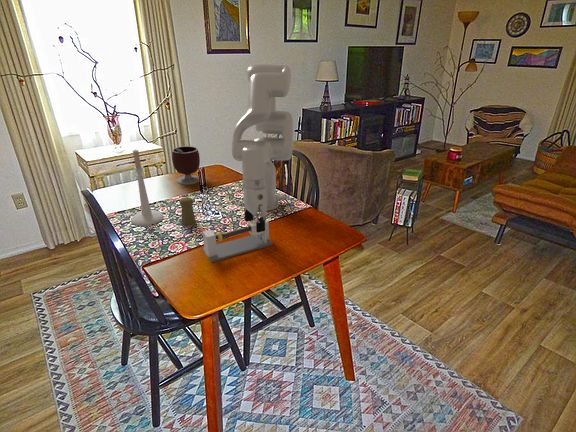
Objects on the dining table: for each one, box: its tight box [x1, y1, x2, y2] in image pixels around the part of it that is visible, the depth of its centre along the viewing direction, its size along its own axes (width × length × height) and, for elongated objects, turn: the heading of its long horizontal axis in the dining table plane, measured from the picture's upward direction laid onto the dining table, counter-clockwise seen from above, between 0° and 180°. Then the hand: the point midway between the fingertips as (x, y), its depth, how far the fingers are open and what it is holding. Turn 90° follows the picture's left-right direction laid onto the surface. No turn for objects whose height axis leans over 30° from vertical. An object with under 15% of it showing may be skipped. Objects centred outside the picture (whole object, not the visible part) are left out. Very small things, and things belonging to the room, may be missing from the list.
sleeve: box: [247, 219, 262, 236], centre depth 130 cm, size 4×4×4 cm
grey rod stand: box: [202, 219, 274, 263], centre depth 128 cm, size 24×9×9 cm, turn 121°
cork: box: [179, 196, 197, 227], centre depth 144 cm, size 6×6×11 cm
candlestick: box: [130, 149, 164, 227], centre depth 143 cm, size 13×13×30 cm
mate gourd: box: [171, 145, 201, 185], centre depth 185 cm, size 16×14×20 cm
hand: (254, 226), depth 129 cm, fingers open, 9 cm apart
